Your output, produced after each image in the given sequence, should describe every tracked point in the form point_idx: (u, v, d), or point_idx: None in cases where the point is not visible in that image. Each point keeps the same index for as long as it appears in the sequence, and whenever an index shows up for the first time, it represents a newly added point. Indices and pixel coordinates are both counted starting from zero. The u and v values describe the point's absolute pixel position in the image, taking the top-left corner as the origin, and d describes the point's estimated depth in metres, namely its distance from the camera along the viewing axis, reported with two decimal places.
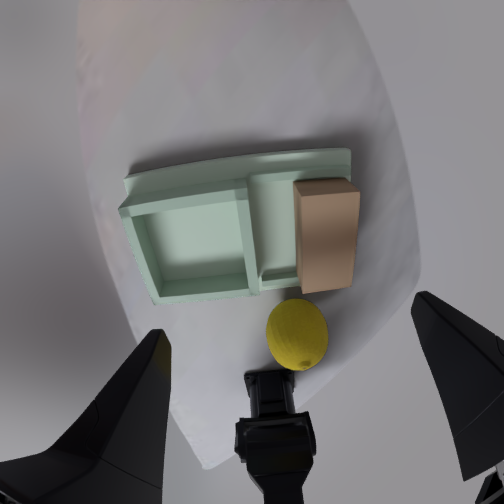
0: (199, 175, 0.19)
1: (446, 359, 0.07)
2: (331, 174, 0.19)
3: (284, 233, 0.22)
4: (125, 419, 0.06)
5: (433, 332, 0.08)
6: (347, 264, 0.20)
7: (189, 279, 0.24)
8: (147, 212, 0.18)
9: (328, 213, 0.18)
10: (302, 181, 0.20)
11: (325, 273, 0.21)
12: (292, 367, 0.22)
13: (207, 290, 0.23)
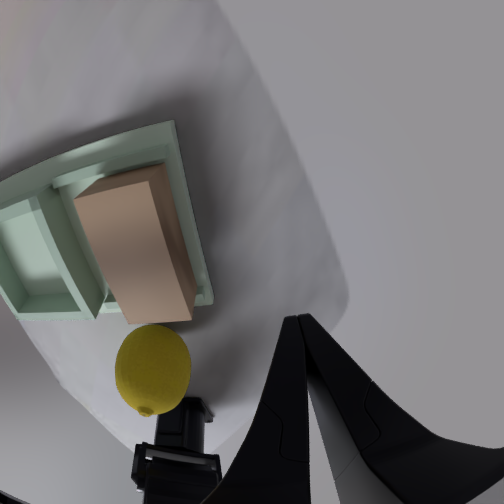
0: (20, 185, 0.13)
1: (316, 395, 0.07)
2: (137, 161, 0.13)
3: None
4: None
5: (306, 362, 0.08)
6: (170, 290, 0.14)
7: (45, 295, 0.18)
8: None
9: (112, 219, 0.12)
10: (106, 177, 0.13)
11: (144, 300, 0.14)
12: (136, 409, 0.16)
13: (50, 309, 0.16)
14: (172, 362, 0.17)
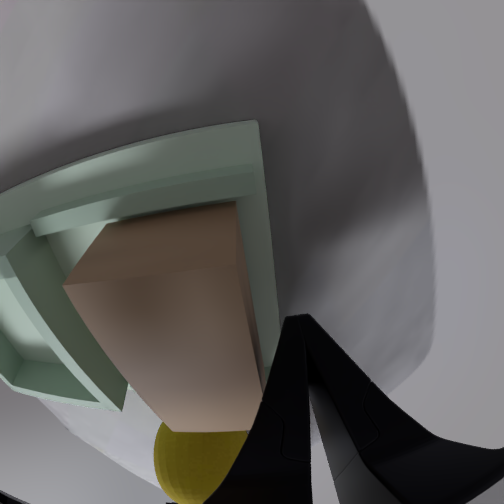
0: None
1: (315, 396, 0.07)
2: (195, 197, 0.07)
3: None
4: None
5: None
6: (247, 407, 0.08)
7: (44, 364, 0.12)
8: None
9: (149, 326, 0.06)
10: (122, 223, 0.08)
11: (202, 415, 0.09)
12: None
13: (55, 390, 0.11)
14: None
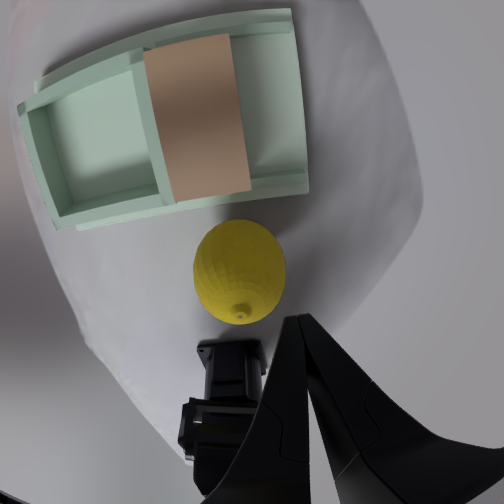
0: (103, 58, 0.12)
1: (316, 395, 0.07)
2: (262, 29, 0.11)
3: None
4: None
5: (306, 362, 0.08)
6: (233, 148, 0.13)
7: (99, 196, 0.17)
8: (41, 102, 0.11)
9: (183, 68, 0.10)
10: None
11: (201, 165, 0.13)
12: (224, 316, 0.15)
13: (110, 202, 0.15)
14: (274, 248, 0.16)
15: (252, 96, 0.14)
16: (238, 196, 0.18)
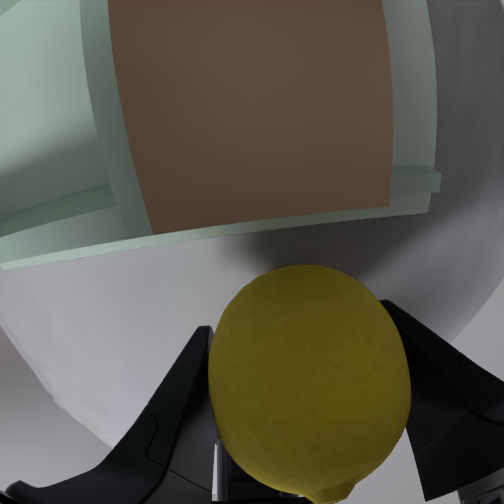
0: None
1: None
2: None
3: None
4: (187, 423, 0.06)
5: None
6: (358, 69, 0.03)
7: (19, 210, 0.07)
8: None
9: None
10: None
11: (246, 109, 0.04)
12: None
13: (23, 226, 0.06)
14: (399, 342, 0.06)
15: None
16: None
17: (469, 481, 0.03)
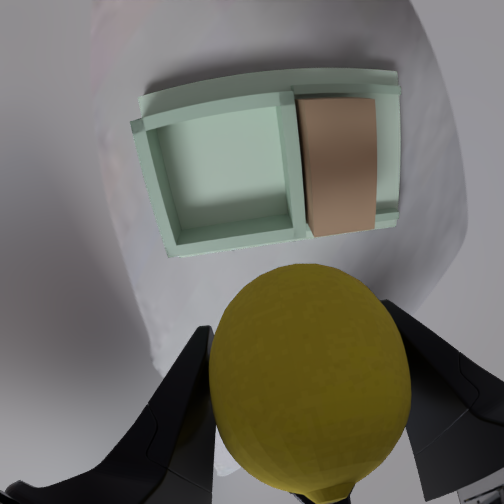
0: (231, 87, 0.15)
1: None
2: (381, 91, 0.14)
3: None
4: (187, 423, 0.06)
5: None
6: (368, 196, 0.15)
7: (214, 225, 0.19)
8: (167, 123, 0.14)
9: (339, 123, 0.13)
10: (304, 98, 0.15)
11: (342, 207, 0.16)
12: (288, 491, 0.05)
13: (239, 233, 0.18)
14: (400, 341, 0.06)
15: None
16: None
17: (469, 481, 0.03)
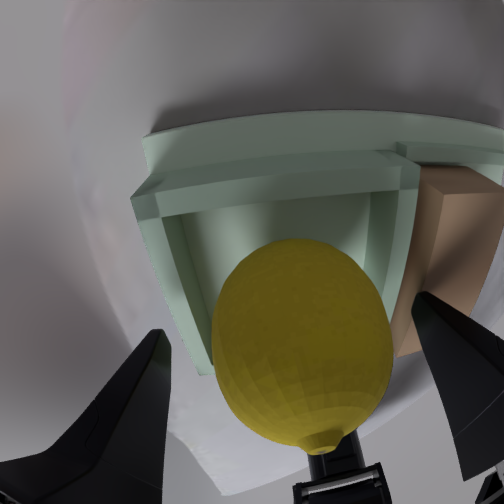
0: (309, 135, 0.09)
1: (446, 359, 0.07)
2: (496, 161, 0.09)
3: None
4: (125, 419, 0.06)
5: (433, 332, 0.08)
6: (466, 308, 0.10)
7: None
8: (203, 207, 0.08)
9: (471, 229, 0.08)
10: None
11: None
12: (282, 443, 0.06)
13: None
14: (380, 303, 0.07)
15: None
16: None
17: None
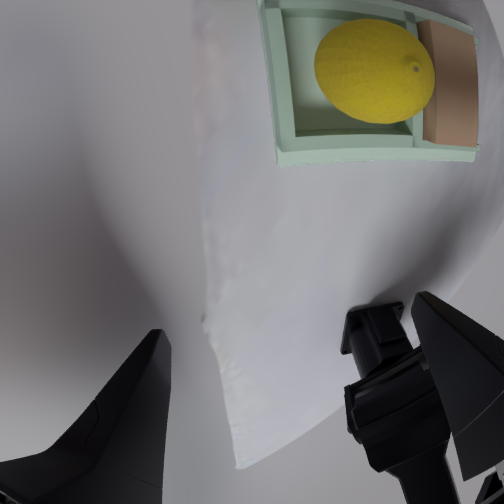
0: None
1: (446, 359, 0.07)
2: None
3: None
4: (125, 419, 0.06)
5: (433, 332, 0.08)
6: (473, 114, 0.12)
7: (326, 129, 0.16)
8: (305, 6, 0.10)
9: (453, 46, 0.10)
10: None
11: (456, 119, 0.12)
12: (390, 76, 0.08)
13: (363, 133, 0.14)
14: None
15: None
16: (438, 155, 0.17)
17: None
